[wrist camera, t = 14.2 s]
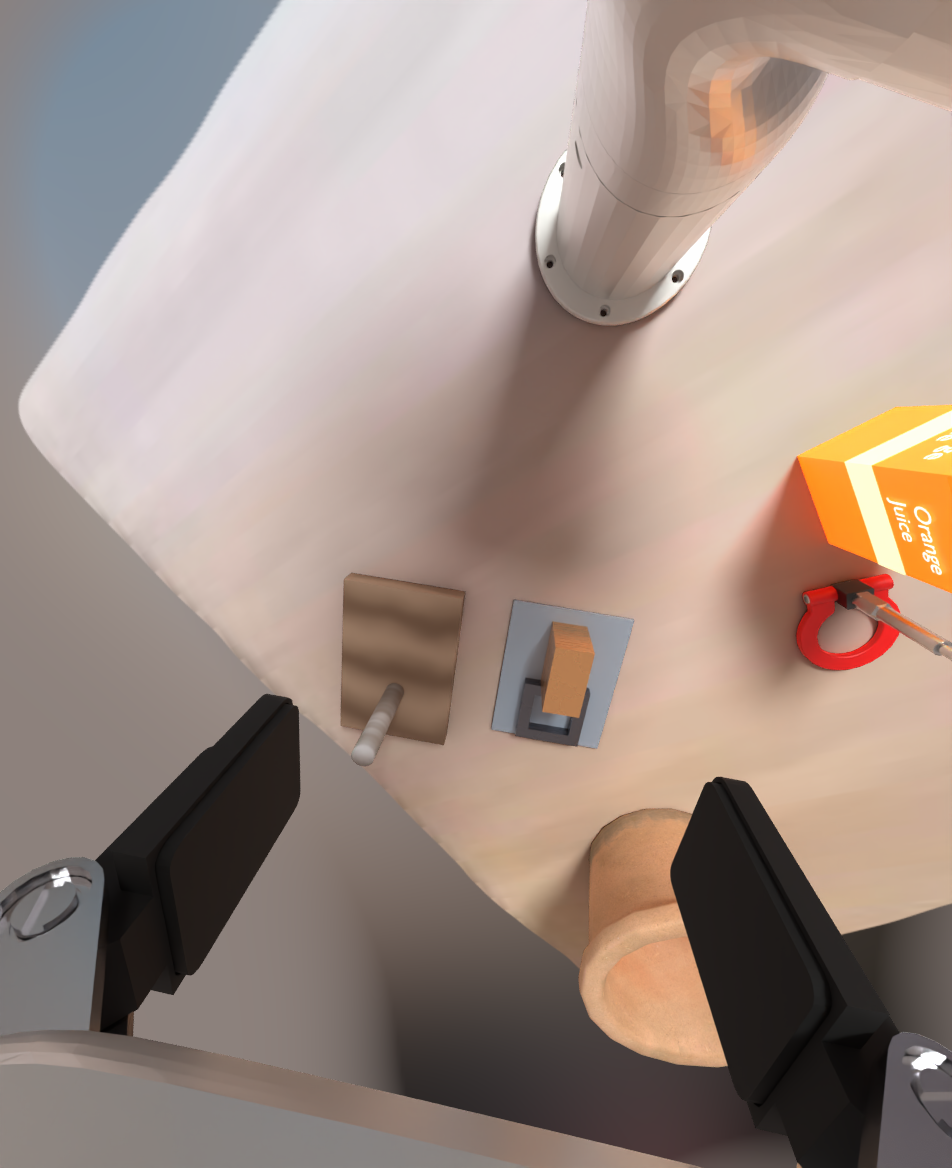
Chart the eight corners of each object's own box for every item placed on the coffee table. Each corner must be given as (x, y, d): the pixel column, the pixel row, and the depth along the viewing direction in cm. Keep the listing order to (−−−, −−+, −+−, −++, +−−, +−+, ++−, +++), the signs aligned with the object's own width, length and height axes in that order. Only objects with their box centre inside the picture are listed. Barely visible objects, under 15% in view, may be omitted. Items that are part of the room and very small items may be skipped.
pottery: (539, 819, 54) (542, 950, 41) (720, 766, 48) (794, 898, 35) (607, 931, 60) (629, 1079, 46) (776, 896, 54) (858, 1052, 41)
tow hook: (892, 653, 42) (893, 567, 39) (1034, 752, 30) (1052, 640, 27) (796, 671, 44) (789, 590, 41) (895, 771, 32) (897, 669, 29)
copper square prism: (536, 618, 44) (537, 644, 39) (603, 629, 44) (613, 656, 39) (515, 728, 49) (514, 764, 44) (576, 739, 49) (581, 776, 44)
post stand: (351, 572, 45) (293, 622, 34) (465, 591, 44) (444, 648, 33) (347, 714, 52) (297, 795, 40) (446, 733, 51) (423, 820, 40)
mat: (514, 599, 44) (513, 601, 44) (633, 619, 43) (634, 620, 43) (491, 727, 50) (491, 729, 50) (596, 746, 49) (597, 748, 49)
